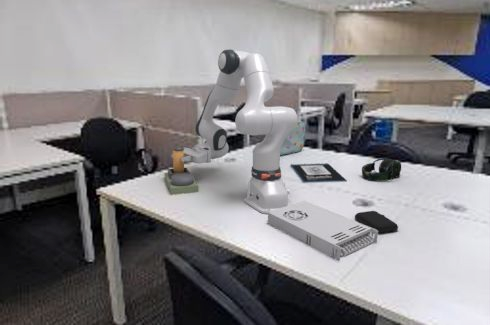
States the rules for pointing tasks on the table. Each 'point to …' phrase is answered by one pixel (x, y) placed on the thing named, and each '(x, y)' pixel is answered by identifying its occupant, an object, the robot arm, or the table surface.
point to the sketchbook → (317, 173)
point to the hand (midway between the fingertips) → (176, 158)
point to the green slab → (181, 182)
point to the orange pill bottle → (178, 159)
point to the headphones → (382, 170)
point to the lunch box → (294, 140)
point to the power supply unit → (322, 228)
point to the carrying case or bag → (376, 221)
